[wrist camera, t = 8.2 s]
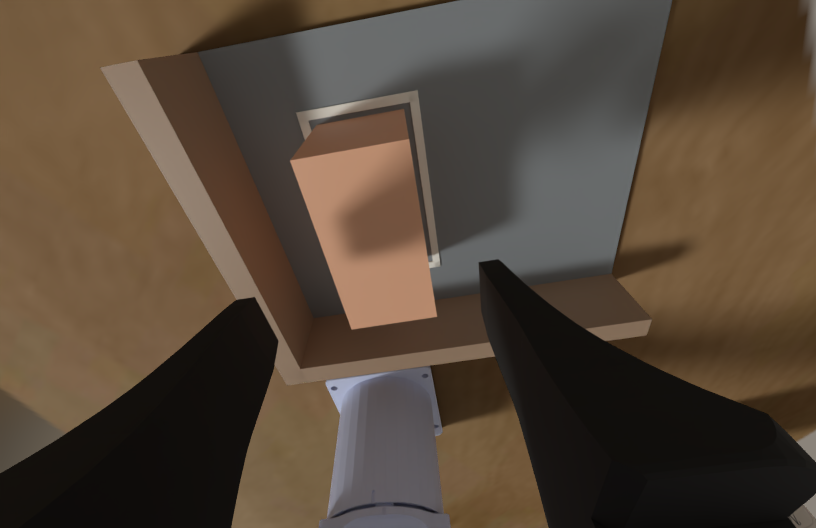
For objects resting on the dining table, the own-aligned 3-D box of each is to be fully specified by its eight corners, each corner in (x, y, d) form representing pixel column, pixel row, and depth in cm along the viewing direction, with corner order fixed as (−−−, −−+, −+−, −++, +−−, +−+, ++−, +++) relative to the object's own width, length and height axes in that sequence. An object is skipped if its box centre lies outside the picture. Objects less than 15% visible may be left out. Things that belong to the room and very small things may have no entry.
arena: (604, 283, 22) (646, 335, 18) (303, 328, 23) (286, 385, 20) (672, -42, 13) (784, -69, 9) (175, 57, 14) (99, 67, 11)
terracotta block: (316, 125, 16) (289, 160, 11) (404, 108, 15) (408, 139, 11) (359, 267, 20) (351, 329, 16) (427, 256, 20) (437, 316, 16)
